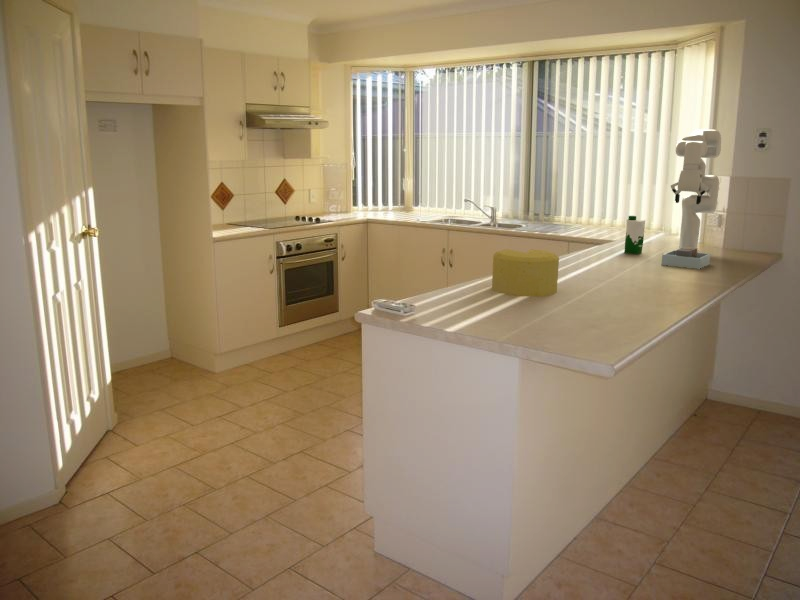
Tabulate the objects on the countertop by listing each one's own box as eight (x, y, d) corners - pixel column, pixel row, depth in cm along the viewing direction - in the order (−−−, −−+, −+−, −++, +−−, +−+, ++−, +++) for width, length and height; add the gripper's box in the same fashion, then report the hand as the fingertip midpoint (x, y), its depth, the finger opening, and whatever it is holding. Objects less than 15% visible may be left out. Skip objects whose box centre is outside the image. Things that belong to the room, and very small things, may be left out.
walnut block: (683, 260, 349) (685, 247, 347) (695, 262, 345) (697, 248, 344) (679, 262, 344) (681, 248, 343) (692, 263, 341) (693, 249, 339)
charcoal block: (678, 262, 343) (680, 248, 341) (691, 264, 339) (692, 250, 338) (675, 264, 338) (676, 250, 336) (687, 265, 334) (689, 251, 333)
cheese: (512, 280, 297) (514, 246, 293) (568, 289, 281) (570, 253, 277) (479, 289, 277) (481, 253, 274) (537, 300, 261) (539, 261, 258)
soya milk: (627, 251, 382) (631, 215, 378) (644, 252, 377) (647, 216, 372) (622, 253, 375) (625, 216, 371) (638, 254, 370) (642, 217, 365)
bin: (672, 260, 354) (673, 250, 353) (709, 264, 343) (710, 254, 342) (661, 264, 340) (662, 254, 339) (699, 269, 329) (700, 258, 328)
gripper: (712, 168, 329) (708, 204, 333) (675, 167, 339) (671, 201, 343) (708, 168, 323) (704, 205, 327) (670, 167, 334) (666, 202, 338)
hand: (687, 203), depth 335 cm, fingers open, 9 cm apart
